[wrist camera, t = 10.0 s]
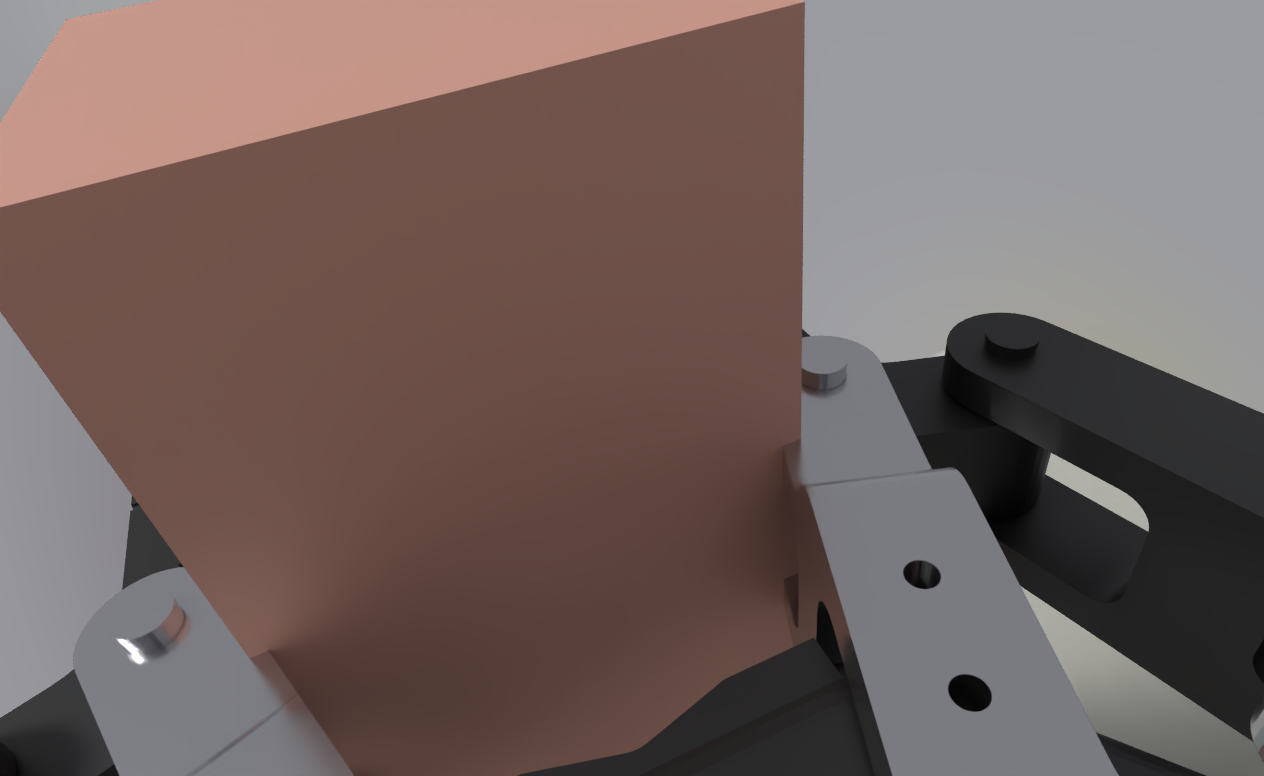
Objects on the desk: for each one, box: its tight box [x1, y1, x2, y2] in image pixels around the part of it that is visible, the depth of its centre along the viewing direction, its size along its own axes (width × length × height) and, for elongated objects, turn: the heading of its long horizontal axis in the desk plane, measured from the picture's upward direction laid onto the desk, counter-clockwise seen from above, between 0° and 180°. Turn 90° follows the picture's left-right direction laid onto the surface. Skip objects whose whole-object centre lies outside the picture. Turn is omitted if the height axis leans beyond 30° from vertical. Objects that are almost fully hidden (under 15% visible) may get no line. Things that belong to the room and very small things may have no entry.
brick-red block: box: [0, 0, 805, 776], centre depth 10 cm, size 5×5×12 cm
